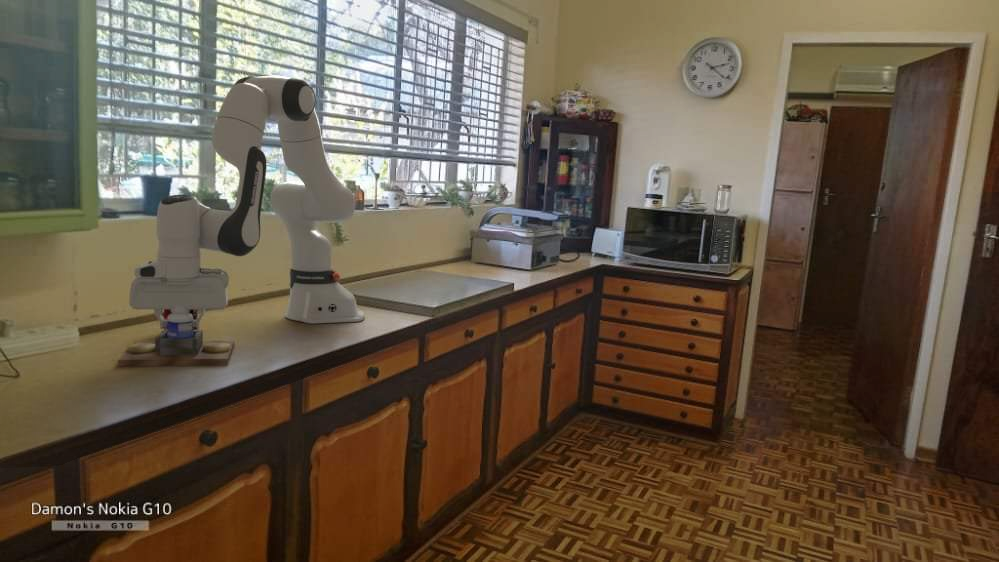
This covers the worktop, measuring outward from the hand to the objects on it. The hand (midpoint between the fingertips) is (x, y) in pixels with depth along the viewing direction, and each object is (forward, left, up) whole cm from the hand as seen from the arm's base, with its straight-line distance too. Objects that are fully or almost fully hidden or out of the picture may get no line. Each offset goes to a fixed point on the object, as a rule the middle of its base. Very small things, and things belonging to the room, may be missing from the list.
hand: (180, 328), depth 163 cm
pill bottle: (0, 0, -5) cm, 5 cm away
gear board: (0, 0, -7) cm, 7 cm away
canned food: (+3, -21, -7) cm, 22 cm away
